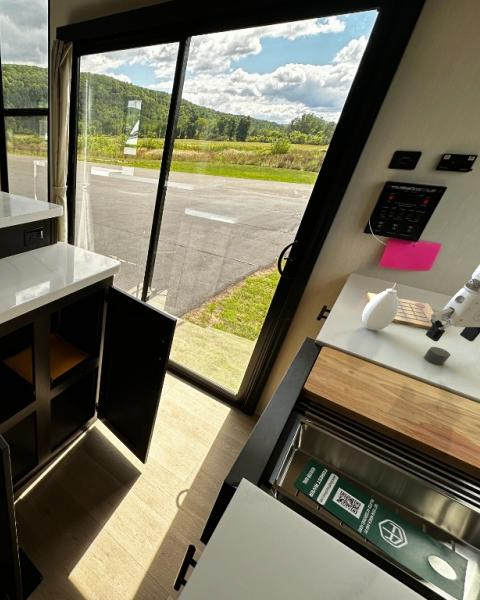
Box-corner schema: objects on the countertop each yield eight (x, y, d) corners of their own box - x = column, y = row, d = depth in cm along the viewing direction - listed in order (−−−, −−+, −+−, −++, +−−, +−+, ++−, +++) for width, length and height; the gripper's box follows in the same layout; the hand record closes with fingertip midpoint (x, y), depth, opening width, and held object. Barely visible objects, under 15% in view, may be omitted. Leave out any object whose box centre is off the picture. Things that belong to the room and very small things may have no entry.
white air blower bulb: (357, 331, 108) (382, 285, 98) (354, 319, 114) (378, 275, 104) (387, 338, 105) (416, 291, 95) (382, 325, 110) (409, 280, 101)
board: (426, 306, 119) (428, 303, 118) (441, 332, 106) (443, 329, 106) (366, 295, 127) (368, 292, 127) (373, 317, 114) (375, 314, 114)
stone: (441, 358, 96) (447, 349, 94) (445, 367, 93) (452, 358, 91) (421, 353, 98) (427, 345, 96) (425, 362, 95) (432, 353, 93)
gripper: (468, 294, 79) (429, 346, 88) (540, 294, 78) (493, 346, 87) (440, 280, 85) (406, 330, 94) (506, 279, 85) (466, 330, 94)
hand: (448, 338), depth 91 cm, fingers open, 9 cm apart
